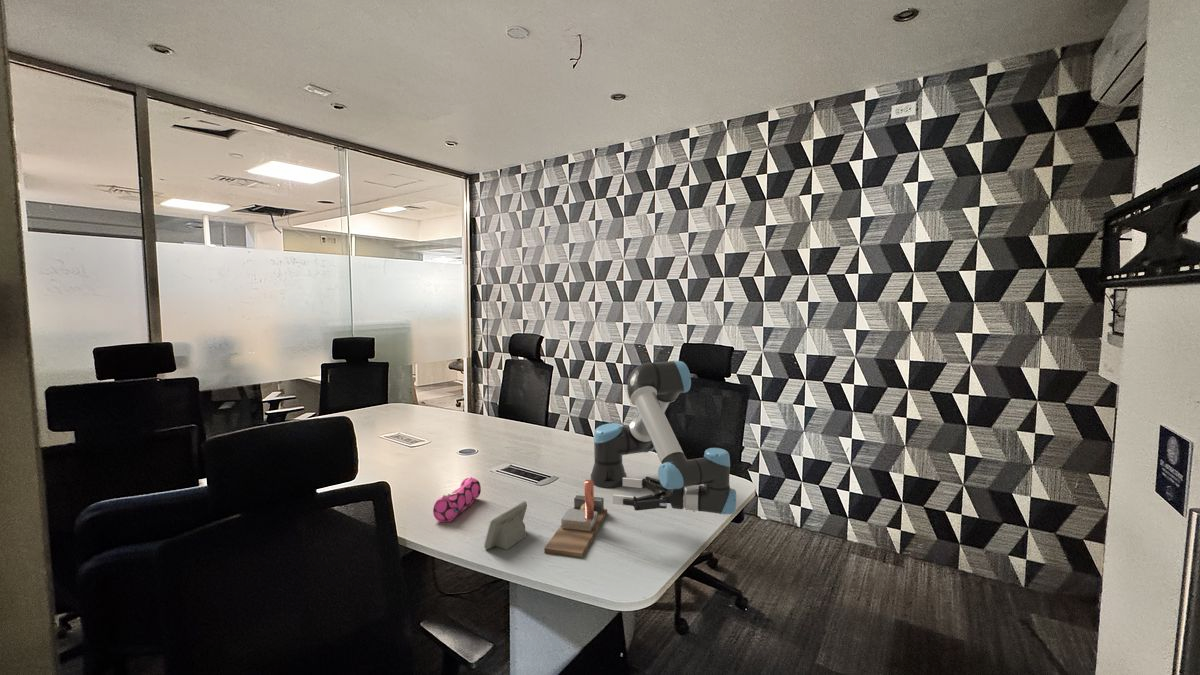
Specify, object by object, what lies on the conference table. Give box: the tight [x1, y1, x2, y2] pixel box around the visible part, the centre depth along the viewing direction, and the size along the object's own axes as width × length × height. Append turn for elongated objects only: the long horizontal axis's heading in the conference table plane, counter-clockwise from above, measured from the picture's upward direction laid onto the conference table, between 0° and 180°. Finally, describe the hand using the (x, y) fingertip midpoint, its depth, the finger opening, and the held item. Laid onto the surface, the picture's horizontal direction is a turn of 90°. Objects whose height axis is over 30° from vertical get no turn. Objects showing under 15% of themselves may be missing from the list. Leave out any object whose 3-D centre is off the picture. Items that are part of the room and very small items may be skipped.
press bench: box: [543, 494, 608, 559], centre depth 157 cm, size 30×12×6 cm, turn 165°
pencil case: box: [432, 476, 482, 523], centre depth 174 cm, size 21×10×10 cm, turn 169°
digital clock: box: [483, 500, 528, 550], centre depth 152 cm, size 16×9×11 cm, turn 137°
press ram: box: [560, 479, 597, 532], centre depth 158 cm, size 8×10×15 cm
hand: (618, 490), depth 154 cm, fingers open, 13 cm apart
